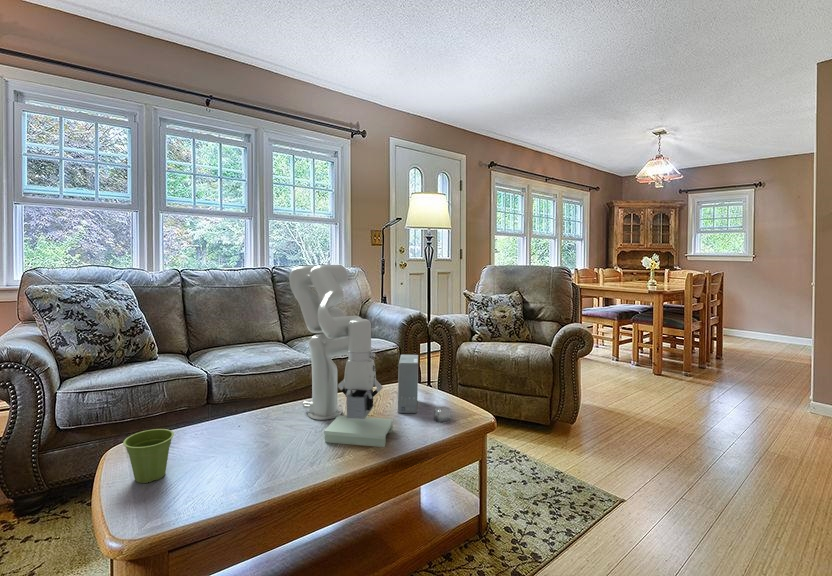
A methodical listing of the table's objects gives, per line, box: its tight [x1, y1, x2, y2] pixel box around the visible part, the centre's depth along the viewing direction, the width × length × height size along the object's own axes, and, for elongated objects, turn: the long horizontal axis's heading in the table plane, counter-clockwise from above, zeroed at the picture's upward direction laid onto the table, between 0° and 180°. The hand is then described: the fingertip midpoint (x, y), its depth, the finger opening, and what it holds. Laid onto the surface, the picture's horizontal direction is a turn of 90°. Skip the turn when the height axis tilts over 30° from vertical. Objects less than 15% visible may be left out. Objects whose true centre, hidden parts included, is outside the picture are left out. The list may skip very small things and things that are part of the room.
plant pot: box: [122, 428, 175, 484], centre depth 119 cm, size 12×12×11 cm
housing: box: [346, 390, 374, 419], centre depth 146 cm, size 10×6×7 cm, turn 171°
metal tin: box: [433, 406, 451, 424], centre depth 162 cm, size 6×6×4 cm
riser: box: [323, 414, 394, 448], centre depth 147 cm, size 20×14×4 cm
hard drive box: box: [397, 354, 419, 414], centre depth 175 cm, size 16×8×20 cm, turn 179°
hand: (360, 408), depth 146 cm, fingers closed on housing, 6 cm apart
